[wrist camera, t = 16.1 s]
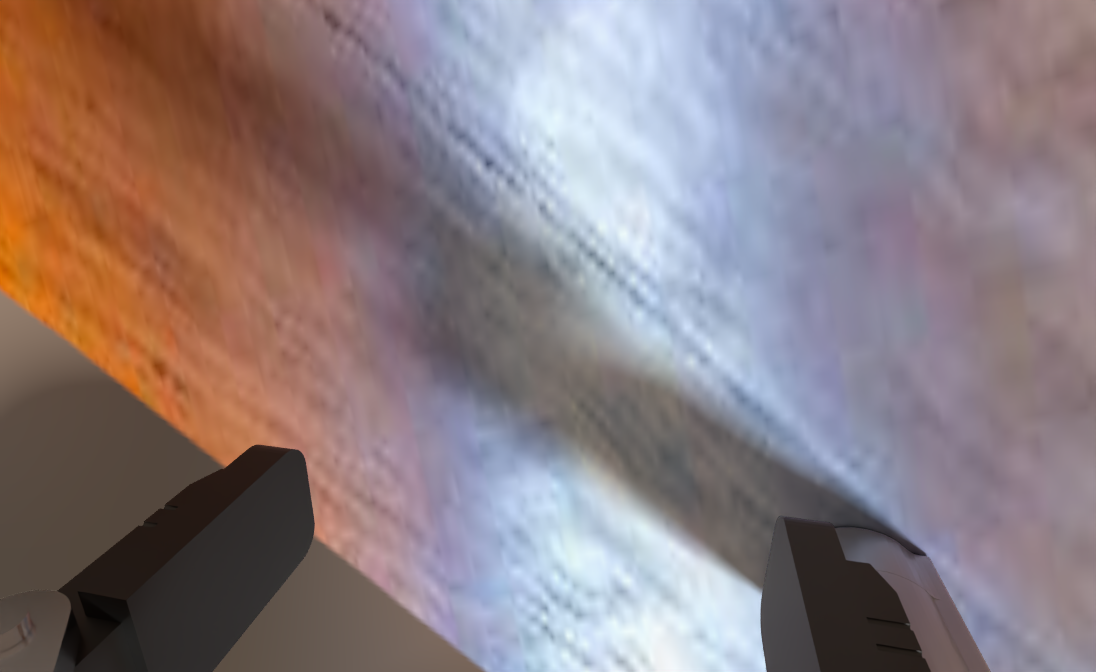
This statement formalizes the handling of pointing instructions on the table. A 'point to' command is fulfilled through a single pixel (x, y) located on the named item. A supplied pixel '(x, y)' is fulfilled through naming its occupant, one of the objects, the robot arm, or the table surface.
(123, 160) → the table surface
